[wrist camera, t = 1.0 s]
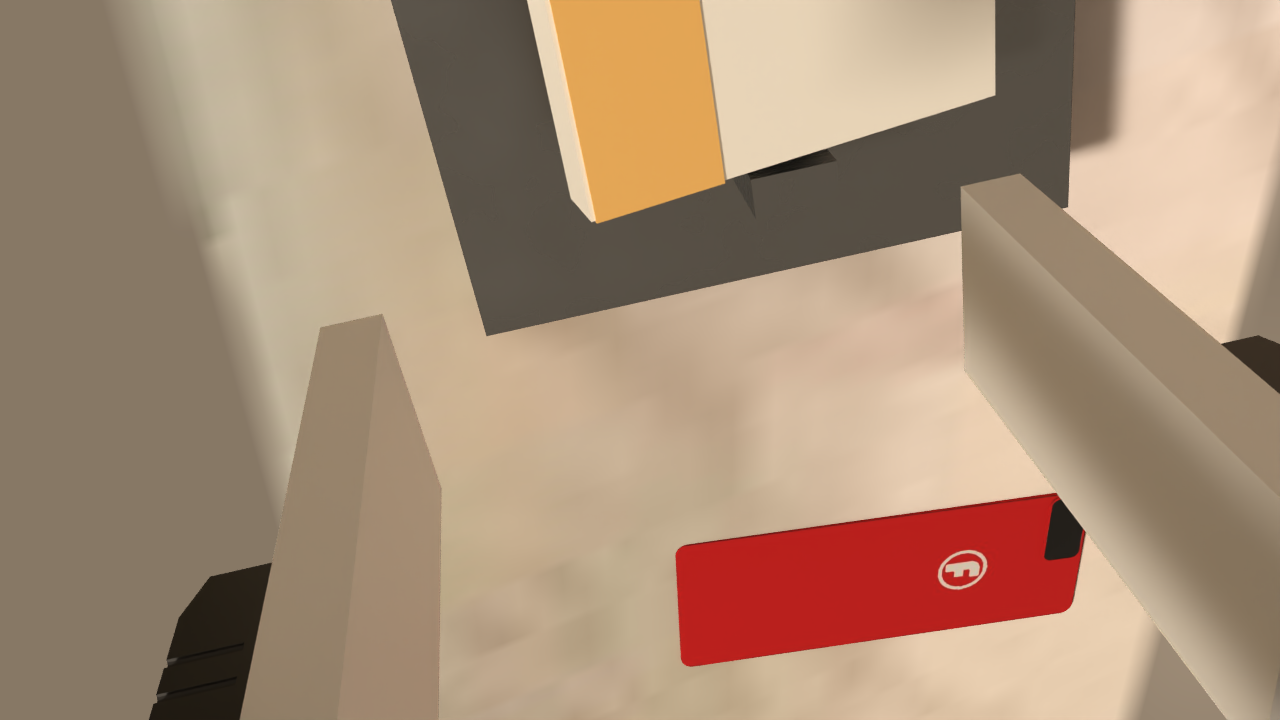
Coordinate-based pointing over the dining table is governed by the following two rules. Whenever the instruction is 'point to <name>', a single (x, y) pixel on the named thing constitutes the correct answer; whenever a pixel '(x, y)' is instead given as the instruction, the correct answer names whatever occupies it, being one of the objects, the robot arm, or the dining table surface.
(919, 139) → the breaker box
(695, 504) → the dining table surface
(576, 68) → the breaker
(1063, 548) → the electronic device
